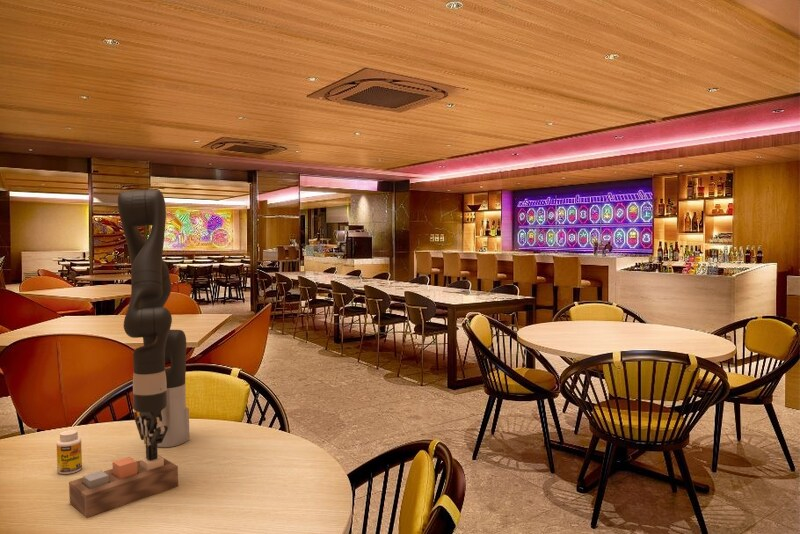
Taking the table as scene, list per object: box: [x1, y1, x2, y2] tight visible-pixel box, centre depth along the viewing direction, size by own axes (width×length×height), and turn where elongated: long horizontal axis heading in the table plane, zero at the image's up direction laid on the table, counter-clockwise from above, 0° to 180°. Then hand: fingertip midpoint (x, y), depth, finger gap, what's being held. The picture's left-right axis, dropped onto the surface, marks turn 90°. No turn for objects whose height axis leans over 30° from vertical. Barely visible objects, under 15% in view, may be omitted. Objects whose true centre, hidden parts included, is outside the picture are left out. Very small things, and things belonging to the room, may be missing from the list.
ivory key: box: [139, 455, 164, 471], centre depth 142 cm, size 4×4×4 cm
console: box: [68, 454, 179, 518], centre depth 138 cm, size 21×10×5 cm, turn 138°
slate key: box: [82, 470, 109, 489], centre depth 133 cm, size 4×4×4 cm
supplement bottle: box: [56, 429, 83, 475], centre depth 150 cm, size 6×6×10 cm
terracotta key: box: [112, 456, 138, 480], centre depth 137 cm, size 4×4×4 cm
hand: (151, 458), depth 142 cm, fingers closed
